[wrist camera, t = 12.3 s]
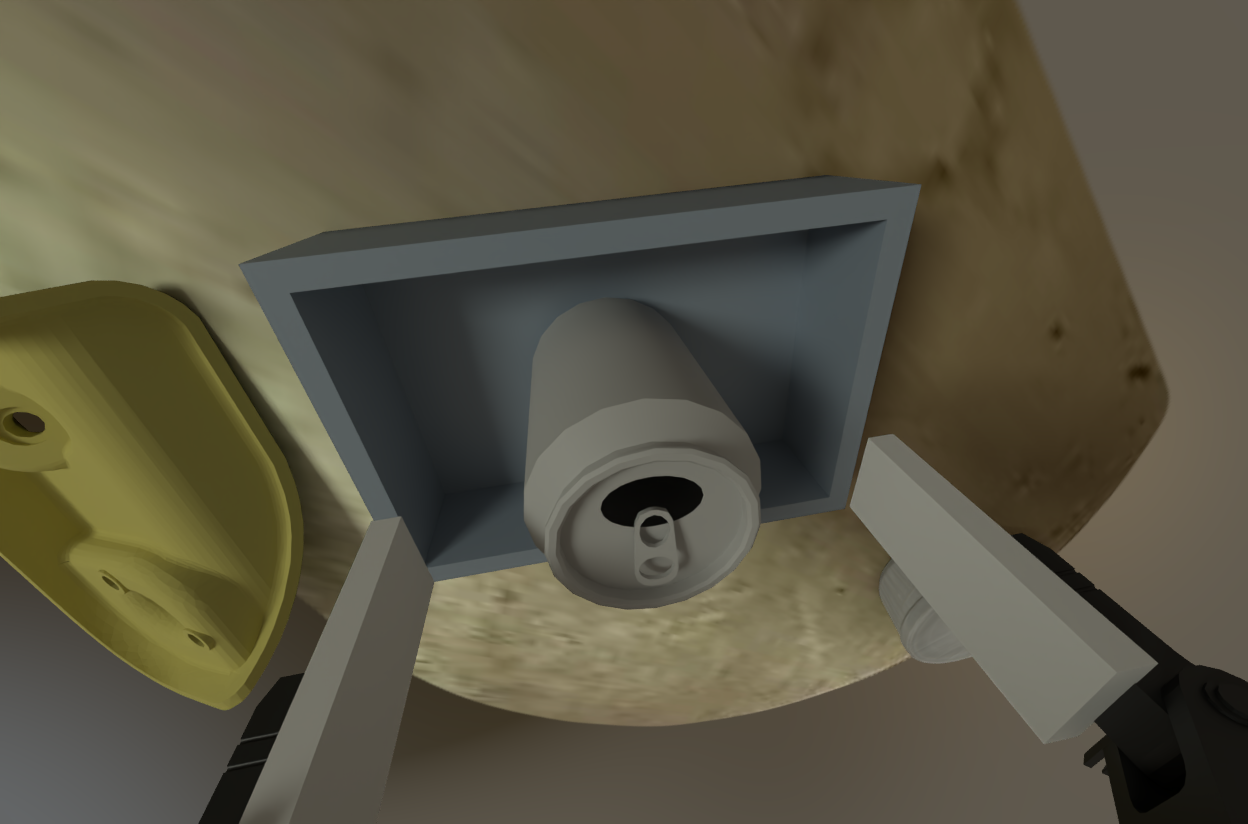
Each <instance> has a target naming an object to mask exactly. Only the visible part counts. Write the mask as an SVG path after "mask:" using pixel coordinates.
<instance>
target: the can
mask: <svg viewBox="0 0 1248 824" xmlns="http://www.w3.org/2000/svg"><path fill="white" fill-rule="evenodd" d="M760 490H761V469H760V459H759V457H758V454H757V452H756V450H755V448H754V446H753V444H752V442H751V440H750V438H749V436H748V434H747V433H746V431H745V430H744V428H743V427H742V426H741V424H740V423H739V421H738V420H737V418H736V417H735V416H734V414H733V413H732V411H731V410H730V408H729V407H728V406H727V404H726V403H725V401H724V400H723V398H722V397H721V396H720V394H719V393H718V391H717V390H716V388H715V387H714V386H713V384H712V383H711V381H710V380H709V378H708V377H707V376H706V374H705V373H704V371H703V370H702V368H701V367H700V366H699V364H698V363H697V361H696V360H695V358H694V357H693V356H692V354H691V353H690V351H689V350H688V348H687V347H686V346H685V344H684V343H683V341H682V340H681V338H680V337H679V335H678V334H677V333H676V331H675V330H674V328H673V327H672V325H671V324H670V323H669V322H668V321H666V320H665V319H664V318H663V317H662V316H661V315H660V314H659V313H658V312H656V311H655V310H654V309H653V308H650V307H648V306H646V305H643V304H641V303H639V302H636V301H634V300H631V299H621V298H608V297H604V298H600V299H596V300H592V301H588V302H584V303H579V304H578V305H576V306H575V307H573V308H571V309H570V310H568V311H566V312H565V313H563V314H561V315H560V316H558V317H557V318H556V319H555V320H554V322H553V323H552V324H551V325H550V326H549V328H548V329H547V330H546V331H545V332H544V333H543V335H542V336H541V338H540V341H539V343H538V346H537V349H536V351H535V354H534V356H533V363H532V378H531V393H530V408H529V423H528V438H527V453H526V467H525V482H524V521H525V524H526V526H527V528H528V530H529V532H530V535H531V537H532V539H533V541H534V544H535V546H536V547H537V548H538V549H539V550H540V551H541V552H542V553H544V554H545V556H546V559H547V561H548V563H549V565H550V568H551V570H552V572H553V575H554V577H556V578H557V579H558V580H559V581H560V582H561V583H562V584H563V585H564V586H565V587H566V588H567V589H569V590H570V591H571V592H572V593H573V594H575V595H577V596H580V597H582V598H584V599H586V600H589V601H591V602H593V603H595V604H598V605H602V606H608V607H614V608H621V609H627V610H628V609H645V608H658V607H662V606H665V605H669V604H673V603H677V602H681V601H685V600H687V599H689V598H691V597H693V596H695V595H697V594H699V593H701V592H704V591H706V590H708V589H710V588H712V587H713V586H714V585H716V584H717V583H718V582H720V581H721V580H722V579H723V578H725V577H726V576H727V575H729V574H730V573H731V572H732V571H734V570H735V569H736V567H737V566H738V565H739V563H740V562H741V561H742V559H743V558H744V557H745V556H746V554H747V553H748V552H749V550H750V549H751V548H752V546H753V544H754V541H755V538H756V535H757V533H758V530H759V527H760V524H761V511H760V498H759V493H760Z"/></svg>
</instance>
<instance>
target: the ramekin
mask: <svg viewBox="0 0 1248 824" xmlns="http://www.w3.org/2000/svg"><path fill="white" fill-rule="evenodd" d="M879 593H880V598H881V600H882V602H883V604H884V606H885V608H886V610H887V612H888V614H889V616H890V618H891V620H892V622H893V623H894V625H895V627H896V629H897V631H898V632H899V634H900V639H901V642H902V644H903V646H904V647H905V649H906V650H907V652H908V653H909V654H910V655H911V656H912V657H913V658H914V659H916V660H918V661H921V662H925V663H948V662H953V661H958V660H962V659H966V658H969V657H972V656H971V654H970V653H969V652H968V651H967V650H966V648H965V647H964V646H963V645H962V643H961V642H960V641H959V640H958V639H957V637H956V636H955V635H954V634H953V632H952V631H951V630H950V629H949V628H948V626H947V625H946V624H945V623H944V621H943V620H942V619H941V618H940V617H939V615H938V614H937V613H936V612H935V610H934V609H933V608H932V607H931V605H930V604H929V603H928V602H927V601H926V599H925V598H924V597H923V596H922V594H921V593H920V592H919V591H918V590H917V588H916V587H915V586H914V585H913V583H912V582H911V581H910V580H909V579H908V577H907V576H906V575H905V574H904V572H903V571H902V570H901V569H900V568H899V566H898V565H897V564H896V563H895V561H894V560H893V559H891V560H890V561H889V562H888V563H887V565H886V566H885V568H884V569H883V571H882V573H881V576H880V581H879Z"/></svg>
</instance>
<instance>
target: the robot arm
mask: <svg viewBox="0 0 1248 824" xmlns="http://www.w3.org/2000/svg"><path fill="white" fill-rule="evenodd" d="M850 508H851V509H852V510H853V511H854V512H855V514H856V515H857V516H858V517H859V519H860V520H861V521H862V522H863V523H864V525H865V526H866V527H867V528H868V530H869V531H870V532H871V533H872V535H873V536H874V537H875V538H876V539H877V541H878V542H879V543H880V544H881V546H882V547H883V548H884V549H885V550H886V552H887V553H888V554H889V555H890V557H891V558H892V559H893V560H894V561H895V563H896V564H897V565H898V566H899V568H900V569H901V570H902V571H903V572H904V574H905V575H906V576H907V577H908V579H909V580H910V581H911V582H912V583H913V585H914V586H915V587H916V588H917V590H918V591H919V592H920V593H921V594H922V596H923V597H924V598H925V599H926V601H927V602H928V603H929V604H930V605H931V607H932V608H933V609H934V610H935V612H936V613H937V614H938V615H939V617H940V618H941V619H942V620H943V621H944V623H945V624H946V625H947V626H948V628H949V629H950V630H951V631H952V632H953V634H954V635H955V636H956V637H957V639H958V640H959V641H960V642H961V643H962V645H963V646H964V647H965V648H966V650H967V651H968V652H969V653H970V654H971V656H972V657H973V658H974V659H975V661H976V662H977V663H978V664H979V665H980V667H981V668H982V669H983V670H984V672H985V673H986V674H987V675H988V676H989V678H990V679H991V680H992V681H993V683H994V684H995V685H996V686H997V688H998V689H999V690H1000V691H1001V692H1002V693H1003V695H1004V696H1005V697H1006V699H1007V700H1008V701H1009V702H1010V703H1011V705H1012V706H1013V707H1014V708H1015V710H1016V711H1017V712H1018V713H1019V714H1020V716H1021V717H1022V718H1023V719H1024V720H1025V722H1026V723H1027V724H1028V725H1029V727H1030V728H1031V729H1032V730H1033V731H1034V733H1035V734H1036V735H1037V736H1038V738H1039V739H1040V740H1041V741H1042V743H1043V744H1047V743H1051V742H1056V741H1060V740H1064V739H1068V738H1073V737H1077V736H1079V735H1080V734H1081V733H1083V732H1084V731H1085V730H1086V729H1087V728H1088V727H1089V726H1090V725H1091V724H1092V723H1093V722H1095V723H1096V724H1097V725H1098V726H1099V727H1100V728H1101V729H1102V730H1103V731H1104V732H1105V733H1106V734H1107V735H1105V736H1104V737H1103V738H1102V739H1101V740H1100V741H1098V742H1097V743H1096V744H1095V745H1094V746H1093V747H1091V748H1090V749H1089V750H1088V751H1087V752H1086V753H1085V754H1084V765H1085V766H1088V767H1090V768H1092V767H1093V766H1094V765H1095V764H1097V763H1098V762H1099V761H1100V760H1102V759H1103V758H1104V757H1105V761H1106V766H1105V767H1104V769H1103V770H1102V773H1103V774H1105V775H1108V776H1109V778H1110V784H1111V788H1112V793H1113V797H1114V801H1115V806H1116V810H1117V815H1118V819H1119V824H1248V682H1246V681H1245V680H1243V679H1241V678H1238V677H1236V676H1234V675H1231V674H1229V673H1227V672H1225V671H1222V670H1219V669H1215V668H1211V667H1206V666H1202V665H1197V666H1195V665H1194V664H1192V663H1190V662H1189V661H1188V660H1186V659H1185V658H1184V657H1182V656H1181V655H1179V654H1178V653H1177V652H1175V651H1174V650H1173V649H1172V648H1171V647H1169V646H1168V645H1167V644H1166V643H1164V642H1163V641H1162V640H1161V639H1160V638H1158V637H1157V636H1156V635H1155V634H1153V633H1152V632H1151V631H1150V630H1149V629H1147V628H1146V627H1145V626H1144V625H1143V624H1141V623H1140V622H1139V621H1138V620H1136V619H1135V618H1134V617H1133V616H1132V615H1130V614H1129V613H1128V612H1127V611H1126V610H1124V609H1123V608H1122V607H1120V605H1118V604H1117V603H1116V602H1115V601H1113V600H1112V599H1111V598H1110V597H1109V596H1107V595H1106V594H1105V593H1104V592H1102V591H1101V590H1100V589H1099V590H1097V589H1096V588H1095V587H1094V584H1093V583H1091V582H1090V581H1089V580H1088V579H1087V578H1086V577H1084V576H1083V575H1082V574H1081V573H1077V572H1075V570H1074V568H1073V567H1072V566H1071V565H1070V564H1069V563H1067V562H1066V561H1065V560H1064V559H1062V558H1061V557H1060V556H1059V555H1058V554H1056V553H1055V552H1054V551H1053V550H1051V549H1050V548H1048V547H1046V546H1045V545H1043V544H1041V543H1039V542H1037V541H1035V540H1034V539H1032V538H1030V537H1028V536H1026V535H1024V534H1023V533H1020V534H1015V535H1009V534H1008V533H1007V532H1006V531H1005V530H1004V529H1003V528H1001V527H1000V526H999V525H998V524H997V523H996V522H994V521H993V520H992V519H991V518H990V517H989V516H988V515H986V514H985V513H984V512H983V511H982V510H981V509H979V508H978V507H977V506H976V505H975V504H974V503H972V502H971V501H970V500H969V499H968V498H967V497H966V496H964V495H963V494H962V493H961V492H960V491H959V490H957V489H956V488H955V487H954V486H953V485H952V484H951V483H949V482H948V481H947V480H946V479H945V478H944V477H942V476H941V475H940V474H939V473H938V472H937V471H935V470H934V469H933V468H932V467H931V466H930V465H929V464H927V463H926V462H925V461H924V460H923V459H922V458H920V457H919V456H918V455H917V454H916V453H915V452H914V451H912V450H911V449H910V448H909V447H908V446H907V445H905V444H904V443H903V442H902V441H901V440H900V439H898V438H897V437H896V436H895V435H894V434H889V435H883V436H877V437H871V438H868V441H867V445H866V448H865V452H864V456H863V459H862V463H861V467H860V470H859V474H858V478H857V481H856V485H855V489H854V493H853V496H852V500H851V504H850ZM433 585H434V580H433V578H432V576H431V574H430V572H429V570H428V568H427V566H426V564H425V562H424V560H423V558H422V556H421V554H420V552H419V550H418V548H417V546H416V545H415V543H414V541H413V539H412V537H411V535H410V533H409V531H408V529H407V527H406V525H405V523H404V521H403V519H402V517H401V516H400V517H394V518H388V519H382V520H377V521H371V523H370V525H369V528H368V530H367V532H366V535H365V537H364V539H363V541H362V544H361V546H360V548H359V551H358V553H357V555H356V557H355V560H354V562H353V564H352V567H351V569H350V571H349V573H348V576H347V578H346V580H345V583H344V585H343V587H342V589H341V592H340V594H339V596H338V599H337V601H336V603H335V605H334V608H333V610H332V612H331V615H330V617H329V619H328V621H327V624H326V626H325V628H324V630H323V633H322V635H321V638H320V640H319V642H318V644H317V646H316V649H315V651H314V653H313V656H312V658H311V660H310V662H309V665H308V667H307V669H306V672H305V673H302V674H296V675H291V676H286V677H281V678H280V679H279V680H278V681H277V682H276V684H275V685H274V686H273V687H272V689H271V690H270V691H269V692H268V693H267V695H266V696H265V697H264V698H263V699H262V701H261V702H260V703H259V704H258V706H257V707H256V709H255V711H254V713H253V715H252V717H251V719H250V721H249V723H248V725H247V727H246V729H245V731H244V733H243V735H242V737H241V743H240V745H237V747H236V749H235V751H234V753H233V755H232V757H231V759H230V761H229V763H228V765H227V767H228V769H227V771H226V772H225V773H223V775H222V777H221V780H220V781H219V783H218V785H217V787H216V789H215V791H214V793H213V796H212V797H211V800H210V802H209V804H208V805H207V808H206V810H205V812H204V814H203V816H202V818H201V820H200V822H199V824H376V823H377V818H378V815H379V811H380V806H381V802H382V797H383V794H384V790H385V785H386V781H387V777H388V773H389V769H390V765H391V760H392V756H393V752H394V748H395V744H396V740H397V735H398V731H399V727H400V723H401V719H402V714H403V710H404V706H405V702H406V697H407V694H408V689H409V685H410V681H411V677H412V673H413V669H414V664H415V660H416V656H417V652H418V648H419V644H420V639H421V635H422V631H423V627H424V623H425V619H426V614H427V610H428V606H429V602H430V598H431V593H432V589H433Z"/></svg>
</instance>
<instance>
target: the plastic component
mask: <svg viewBox="0 0 1248 824" xmlns="http://www.w3.org/2000/svg"><path fill="white" fill-rule="evenodd" d="M15 412H28V413H31V414H34V415H36V416H38V417H39V418H40V419H42V421H43V422H44V423H45V430H44V431H42V432H29V431H28V430H26V428H24V427H23V426H22V425H21V424H20V423H19V422H18V421H17V420H16V419H15V418H14V417H13V413H15ZM303 532H304V523H303V517H302V511H301V505H300V498H299V495H298V492H297V488H296V485H295V481H294V478H293V476H292V473H291V471H290V468H289V466H288V463H287V461H286V458H285V457H284V455H283V453H282V452H281V450H280V448H279V447H278V445H277V444H276V442H275V440H274V439H273V437H272V435H271V434H270V432H269V431H268V429H267V427H266V426H265V424H264V422H263V421H262V419H261V418H260V416H259V414H258V413H257V411H256V409H255V408H254V406H253V405H252V403H251V401H250V400H249V398H248V396H247V395H246V393H245V392H244V390H243V388H242V387H241V385H240V383H239V382H238V380H237V378H236V377H235V375H234V374H233V372H232V370H231V369H230V367H229V365H228V364H227V362H226V361H225V359H224V357H223V356H222V354H221V352H220V351H219V349H218V348H217V346H216V344H215V343H214V341H213V339H212V338H211V336H210V335H209V333H208V331H207V330H206V328H205V326H204V325H203V323H202V322H201V320H200V318H199V317H198V316H197V315H195V314H194V313H193V312H192V311H191V310H190V309H188V308H187V307H186V306H185V305H184V304H183V303H181V302H179V301H177V300H175V299H174V298H172V297H170V296H168V295H167V294H165V293H163V292H160V291H157V290H154V289H151V288H148V287H146V286H143V285H138V284H132V283H127V282H121V281H86V282H81V283H75V284H70V285H64V286H59V287H53V288H48V289H42V290H37V291H31V292H26V293H20V294H15V295H9V296H4V297H0V556H1V557H2V558H3V559H5V560H6V561H7V562H8V563H9V564H10V565H11V566H12V567H13V568H14V569H16V570H17V571H18V572H19V573H20V574H21V575H22V576H23V577H25V578H26V579H27V580H28V581H29V582H30V583H31V584H32V585H33V586H35V587H36V588H37V589H38V590H39V591H40V592H41V593H42V594H43V595H44V596H46V597H47V598H48V599H49V600H50V601H51V602H52V603H54V604H55V605H56V606H57V607H58V608H59V609H60V610H61V611H62V612H64V613H65V614H66V615H67V616H68V617H69V618H70V619H72V620H73V621H74V622H75V623H76V624H77V625H79V626H80V627H81V628H82V629H83V630H84V631H86V632H87V633H88V634H89V635H90V636H92V637H93V638H94V639H95V640H97V641H98V642H99V643H100V644H102V645H103V646H104V647H105V648H107V649H108V650H109V651H111V652H112V653H113V654H115V655H116V656H118V657H119V658H120V659H121V660H123V661H124V662H126V663H127V664H129V665H130V666H132V667H133V668H135V669H136V670H138V671H139V672H141V673H142V674H144V675H145V676H147V677H149V678H150V679H152V680H154V681H155V682H157V683H159V684H161V685H163V686H164V687H166V688H168V689H170V690H172V691H174V692H176V693H179V694H181V695H183V696H186V697H188V698H191V699H193V700H196V701H199V702H202V703H204V704H207V705H210V706H213V707H215V708H218V709H221V710H228V709H231V708H233V707H234V706H236V705H237V704H239V703H240V702H242V701H243V700H244V699H245V698H246V697H247V696H248V694H249V693H250V692H251V691H252V689H253V688H254V686H255V685H256V683H257V681H258V680H259V678H260V677H261V675H262V673H263V672H264V670H265V668H266V666H267V665H268V663H269V661H270V659H271V657H272V655H273V653H274V651H275V649H276V647H277V645H278V643H279V641H280V639H281V636H282V634H283V631H284V629H285V626H286V624H287V621H288V619H289V616H290V612H291V609H292V606H293V603H294V599H295V596H296V592H297V587H298V583H299V578H300V574H301V566H302V558H303Z"/></svg>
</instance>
